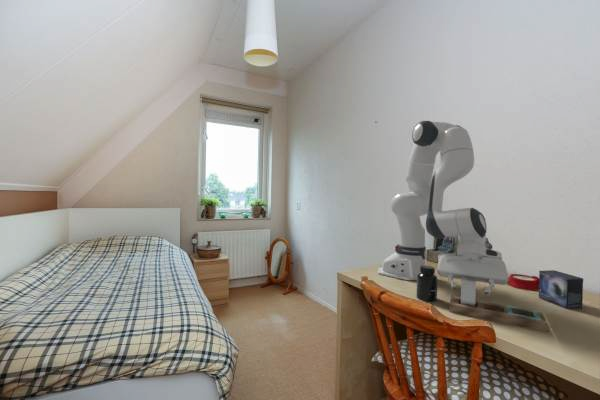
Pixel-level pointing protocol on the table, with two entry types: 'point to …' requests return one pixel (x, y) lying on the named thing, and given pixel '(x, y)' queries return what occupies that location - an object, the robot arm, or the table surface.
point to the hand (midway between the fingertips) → (470, 290)
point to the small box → (561, 289)
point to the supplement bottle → (427, 284)
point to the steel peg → (468, 291)
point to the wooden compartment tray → (501, 314)
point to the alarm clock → (524, 282)
